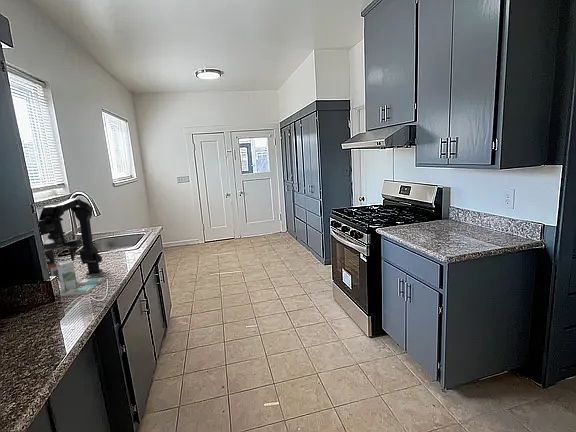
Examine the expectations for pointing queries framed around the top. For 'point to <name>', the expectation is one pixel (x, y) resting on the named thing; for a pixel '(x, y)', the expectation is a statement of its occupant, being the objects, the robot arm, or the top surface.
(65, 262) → the syrup box
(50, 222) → the robot arm
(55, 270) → the supplement bottle
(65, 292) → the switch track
